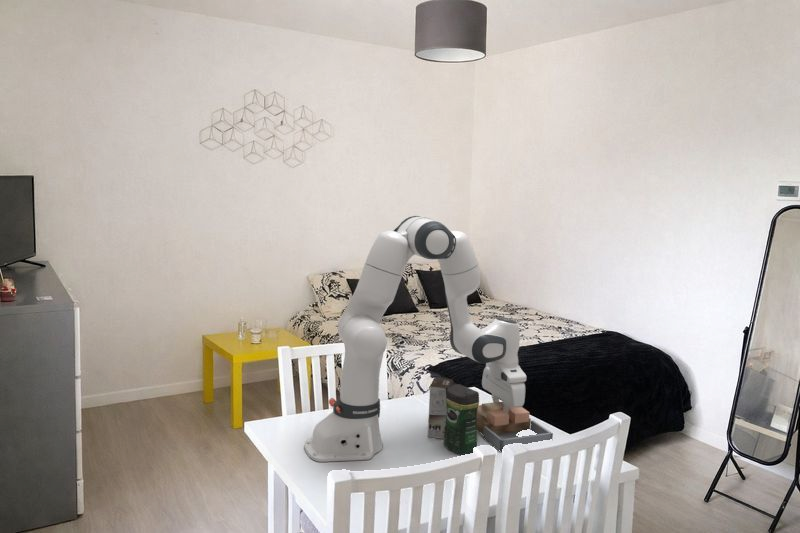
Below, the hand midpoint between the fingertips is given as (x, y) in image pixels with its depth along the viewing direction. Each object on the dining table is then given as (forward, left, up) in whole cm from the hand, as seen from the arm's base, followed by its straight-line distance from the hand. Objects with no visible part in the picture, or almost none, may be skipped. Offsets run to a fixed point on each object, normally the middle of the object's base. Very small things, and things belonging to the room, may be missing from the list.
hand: (500, 411), depth 200 cm
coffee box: (-20, +2, -6) cm, 21 cm away
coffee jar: (-19, -10, -6) cm, 22 cm away
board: (0, +3, -6) cm, 6 cm away
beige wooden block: (0, 0, -1) cm, 1 cm away
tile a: (-3, -4, -2) cm, 6 cm away
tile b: (+4, -4, -2) cm, 6 cm away
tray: (0, -10, -6) cm, 12 cm away
